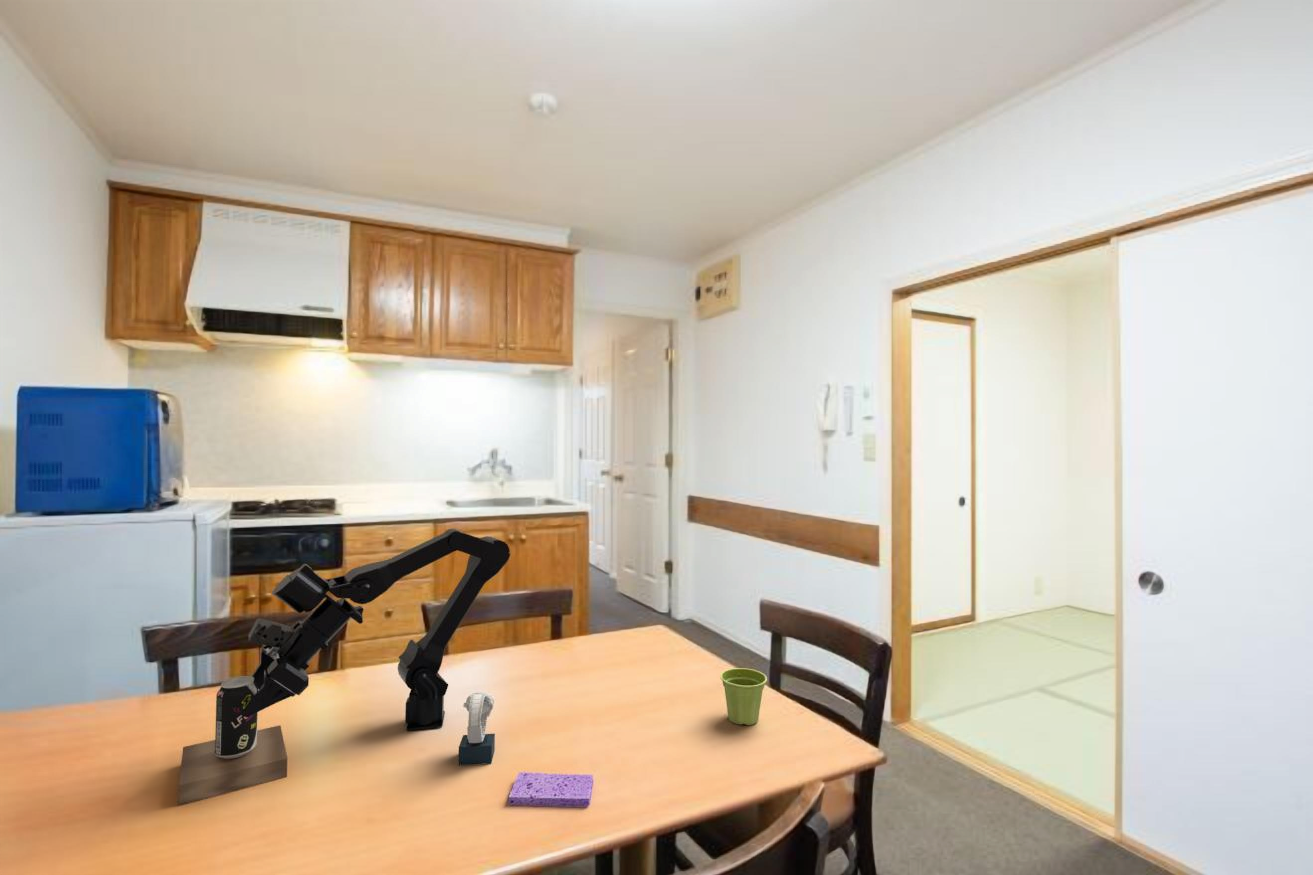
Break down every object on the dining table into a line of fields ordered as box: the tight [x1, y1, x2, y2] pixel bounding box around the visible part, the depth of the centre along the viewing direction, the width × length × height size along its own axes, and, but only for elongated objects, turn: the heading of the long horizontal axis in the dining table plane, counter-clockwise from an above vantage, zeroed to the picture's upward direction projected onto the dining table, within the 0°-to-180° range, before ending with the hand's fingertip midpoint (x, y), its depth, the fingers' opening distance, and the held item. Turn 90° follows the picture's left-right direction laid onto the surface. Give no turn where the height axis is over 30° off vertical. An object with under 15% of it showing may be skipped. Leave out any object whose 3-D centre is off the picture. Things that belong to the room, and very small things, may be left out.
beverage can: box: [214, 675, 259, 759], centre depth 100 cm, size 6×6×12 cm
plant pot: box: [719, 667, 768, 726], centre depth 122 cm, size 9×9×9 cm
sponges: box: [508, 771, 594, 808], centre depth 95 cm, size 7×13×2 cm, turn 90°
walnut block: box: [177, 724, 288, 807], centre depth 100 cm, size 14×14×3 cm
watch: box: [457, 691, 496, 766], centre depth 105 cm, size 6×8×11 cm
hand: (242, 705), depth 100 cm, fingers open, 9 cm apart
